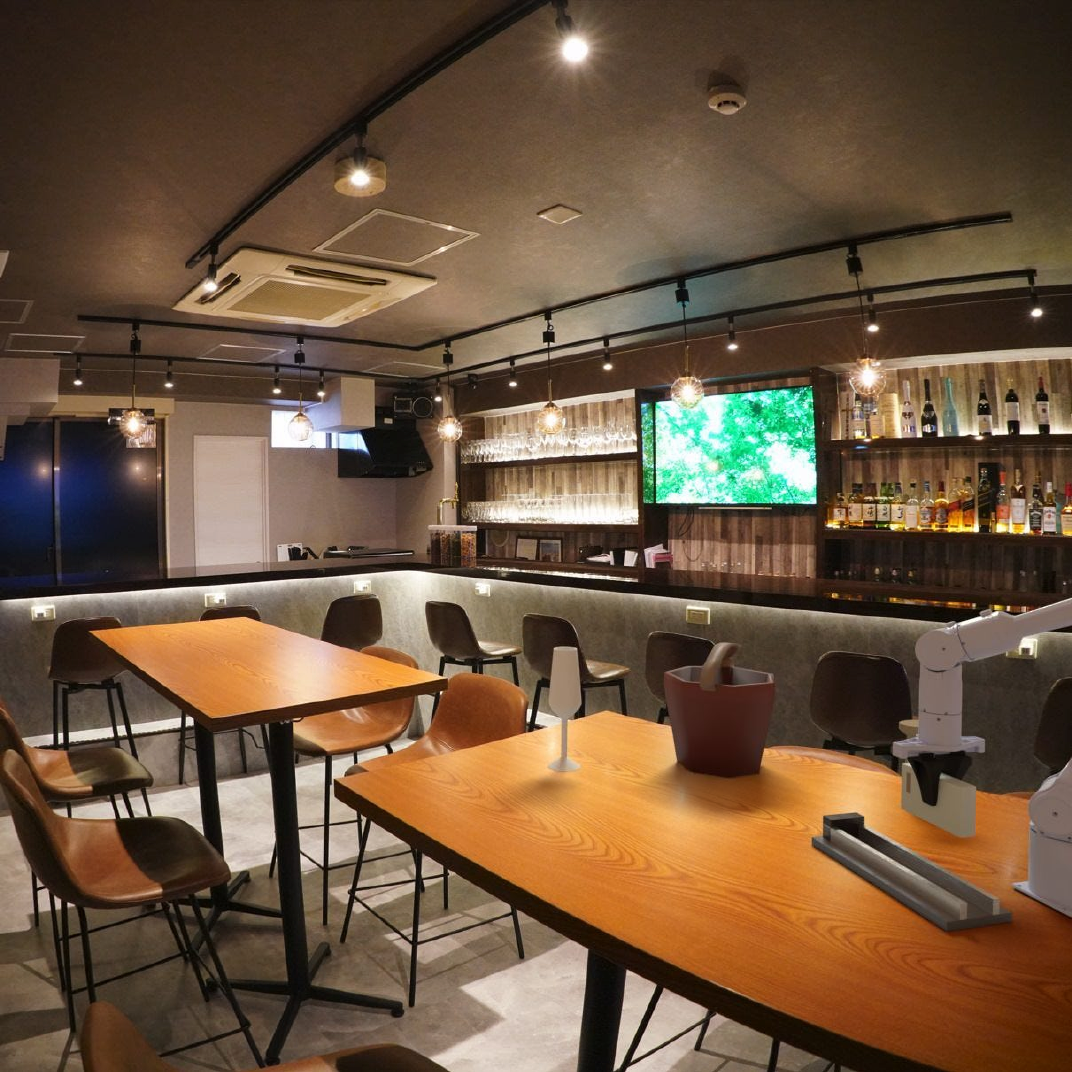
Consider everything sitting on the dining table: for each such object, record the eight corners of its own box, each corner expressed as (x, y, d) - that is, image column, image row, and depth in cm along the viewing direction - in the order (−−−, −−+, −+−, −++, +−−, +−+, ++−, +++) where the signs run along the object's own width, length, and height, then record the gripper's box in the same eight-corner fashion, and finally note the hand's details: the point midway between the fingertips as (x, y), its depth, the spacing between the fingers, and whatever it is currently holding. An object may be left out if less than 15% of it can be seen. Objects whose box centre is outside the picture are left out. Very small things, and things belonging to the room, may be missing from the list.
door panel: (975, 836, 116) (976, 786, 116) (960, 837, 116) (961, 787, 116) (915, 807, 128) (916, 762, 128) (900, 808, 127) (901, 763, 127)
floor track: (1011, 921, 105) (1012, 887, 105) (946, 931, 102) (947, 896, 102) (866, 838, 132) (866, 811, 132) (811, 844, 129) (812, 816, 129)
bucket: (702, 743, 187) (704, 633, 186) (798, 762, 173) (800, 643, 172) (644, 768, 168) (646, 645, 167) (746, 791, 154) (749, 657, 153)
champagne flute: (543, 769, 166) (545, 650, 165) (552, 760, 172) (554, 645, 172) (576, 772, 164) (577, 652, 163) (584, 763, 170) (585, 647, 170)
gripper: (960, 702, 127) (958, 790, 127) (879, 707, 123) (877, 797, 124) (997, 713, 120) (995, 806, 121) (912, 718, 116) (910, 814, 117)
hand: (938, 803), depth 122 cm, fingers closed on door panel, 2 cm apart
